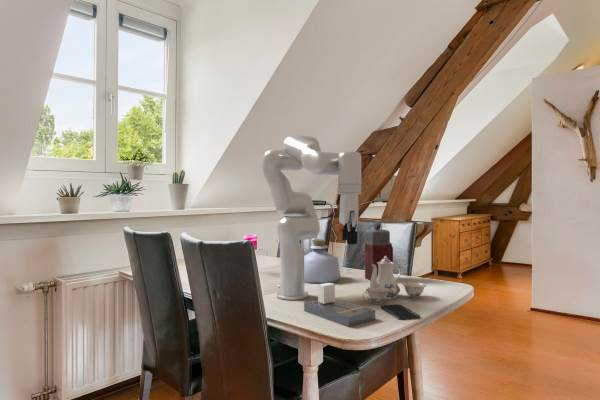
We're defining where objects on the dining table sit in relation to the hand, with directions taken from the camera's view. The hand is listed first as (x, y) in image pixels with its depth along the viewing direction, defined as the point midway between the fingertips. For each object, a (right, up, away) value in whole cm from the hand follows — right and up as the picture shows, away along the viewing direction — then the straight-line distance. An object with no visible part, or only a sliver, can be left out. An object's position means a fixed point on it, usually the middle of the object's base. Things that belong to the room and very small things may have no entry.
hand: (349, 241), depth 135 cm
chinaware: (+19, -25, +25) cm, 40 cm away
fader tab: (-7, -21, +7) cm, 24 cm away
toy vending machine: (+21, -24, +59) cm, 67 cm away
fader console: (-3, -25, +3) cm, 25 cm away
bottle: (-7, -24, +60) cm, 65 cm away
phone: (+18, -25, +5) cm, 31 cm away
